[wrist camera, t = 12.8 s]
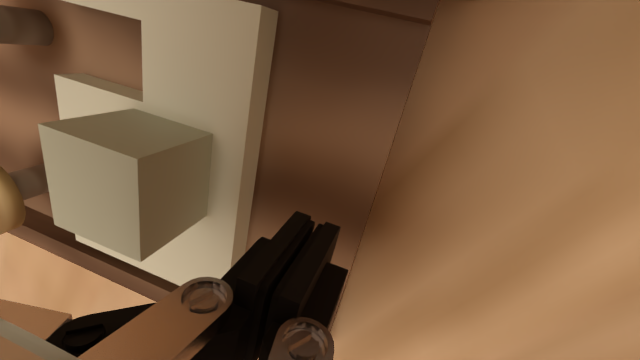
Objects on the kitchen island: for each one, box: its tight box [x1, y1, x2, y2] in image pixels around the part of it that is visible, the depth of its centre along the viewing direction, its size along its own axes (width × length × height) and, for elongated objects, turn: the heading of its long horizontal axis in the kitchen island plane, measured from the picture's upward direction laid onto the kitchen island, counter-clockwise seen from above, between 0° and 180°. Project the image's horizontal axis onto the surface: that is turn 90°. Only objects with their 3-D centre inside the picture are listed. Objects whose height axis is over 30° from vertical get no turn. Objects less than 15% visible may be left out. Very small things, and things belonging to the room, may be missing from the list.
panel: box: [38, 0, 279, 286], centre depth 13 cm, size 14×10×5 cm
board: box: [0, 0, 440, 332], centre depth 15 cm, size 18×24×5 cm
